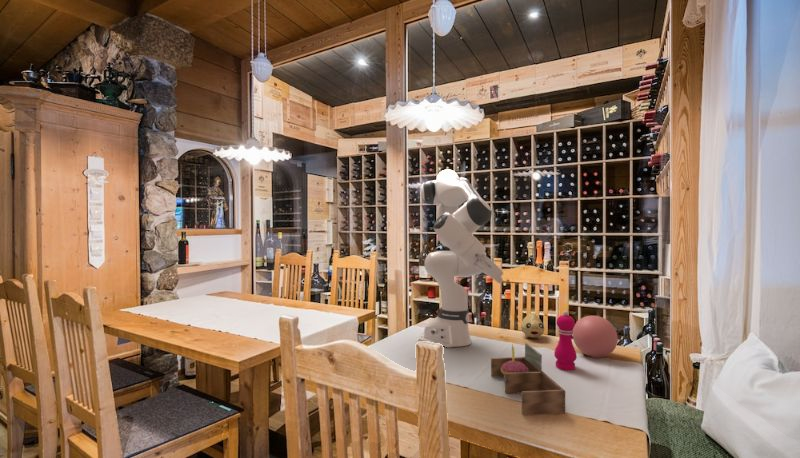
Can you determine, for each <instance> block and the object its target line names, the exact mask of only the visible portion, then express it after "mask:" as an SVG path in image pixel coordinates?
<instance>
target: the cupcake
mask: <svg viewBox="0 0 800 458" xmlns="http://www.w3.org/2000/svg"><path fill="white" fill-rule="evenodd" d="M511 356H512V361H507V362H505V363H504V364H503V365H502V366H501V372H502V373H503V375H504V376H503V378H505V373H515V372H529V371H528V367H526V366H525V364H523V363H521V362H518V361H515V360H514V357H515V347H514V345H513V344H512V345H511Z"/></svg>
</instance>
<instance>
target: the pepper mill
mask: <svg viewBox="0 0 800 458" xmlns="http://www.w3.org/2000/svg"><path fill="white" fill-rule="evenodd" d="M575 324H576V322H575V319H574V318H573V316H570V315H569V312H568V311H567V310H563V312H562V315H559V316H558V317H557V318H556V325H557V327H558V329H557V333H558V334H559V335H558V336H559V340H558V342H557V344H556V347H555V350H554V357H555V358H556V360H555V367H556V368H557V369H559V370H563V371H568V372H569V371H573V370H576V369H575V368H576V363H575V361H576V360H577V352H576V349H575V347H574V344H573V328H574V326H575Z"/></svg>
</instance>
